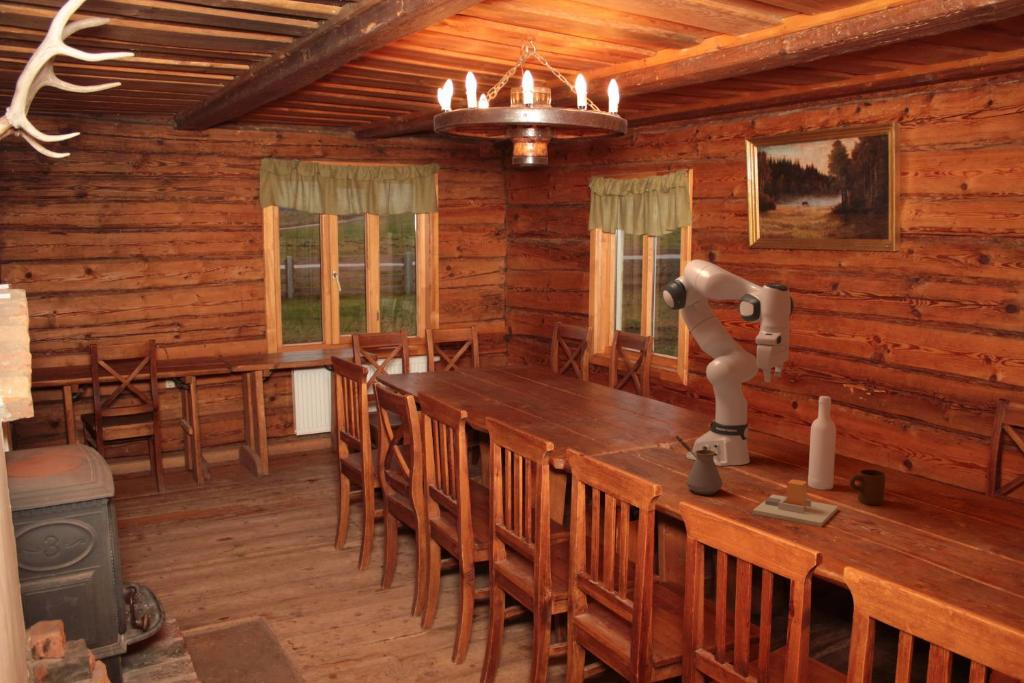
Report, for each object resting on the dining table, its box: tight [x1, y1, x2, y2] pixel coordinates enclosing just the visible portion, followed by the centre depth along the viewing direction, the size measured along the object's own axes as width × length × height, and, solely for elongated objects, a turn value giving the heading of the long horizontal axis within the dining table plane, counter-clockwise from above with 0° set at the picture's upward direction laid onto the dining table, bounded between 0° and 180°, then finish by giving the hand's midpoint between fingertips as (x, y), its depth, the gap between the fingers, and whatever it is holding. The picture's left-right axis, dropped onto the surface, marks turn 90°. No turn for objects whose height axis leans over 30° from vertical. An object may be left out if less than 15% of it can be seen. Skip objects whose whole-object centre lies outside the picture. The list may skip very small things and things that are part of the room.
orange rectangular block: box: [786, 478, 808, 509], centre depth 269 cm, size 4×4×8 cm
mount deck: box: [752, 494, 839, 528], centre depth 270 cm, size 20×18×3 cm
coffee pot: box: [672, 435, 723, 495], centre depth 293 cm, size 21×12×15 cm, turn 27°
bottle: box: [807, 395, 837, 491], centre depth 293 cm, size 8×8×30 cm
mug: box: [848, 469, 886, 506], centre depth 278 cm, size 12×8×9 cm, turn 108°
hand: (772, 379), depth 282 cm, fingers open, 8 cm apart
